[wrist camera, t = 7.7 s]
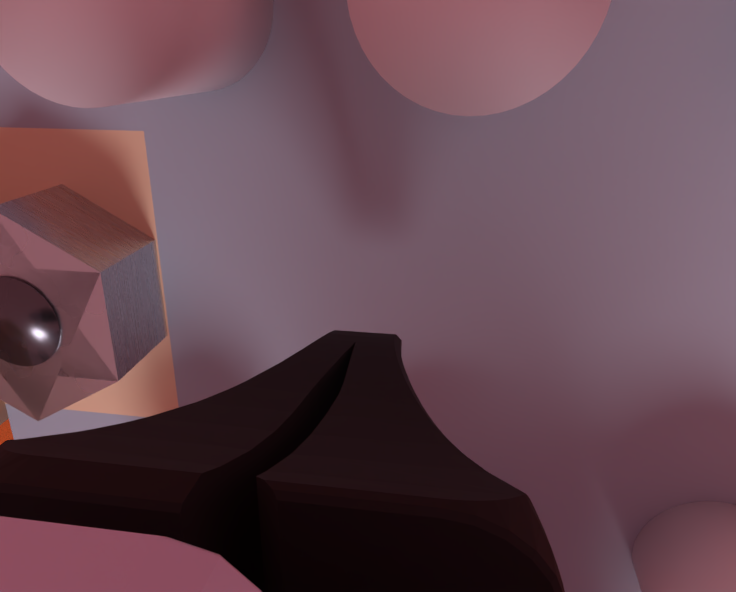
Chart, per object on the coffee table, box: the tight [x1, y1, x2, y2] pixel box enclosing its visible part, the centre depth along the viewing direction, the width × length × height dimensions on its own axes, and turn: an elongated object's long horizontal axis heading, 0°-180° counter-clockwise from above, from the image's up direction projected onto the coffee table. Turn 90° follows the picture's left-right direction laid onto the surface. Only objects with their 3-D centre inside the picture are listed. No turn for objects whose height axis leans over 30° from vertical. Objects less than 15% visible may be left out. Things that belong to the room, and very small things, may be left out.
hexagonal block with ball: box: [0, 184, 167, 421], centre depth 15 cm, size 5×5×3 cm
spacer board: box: [0, 0, 736, 592], centre depth 14 cm, size 18×23×6 cm
